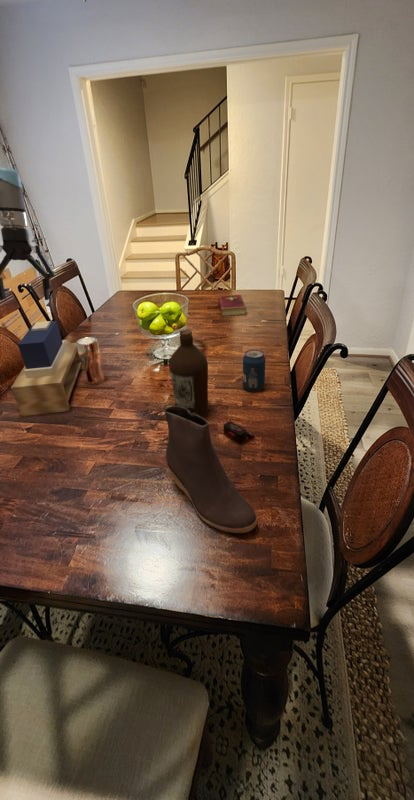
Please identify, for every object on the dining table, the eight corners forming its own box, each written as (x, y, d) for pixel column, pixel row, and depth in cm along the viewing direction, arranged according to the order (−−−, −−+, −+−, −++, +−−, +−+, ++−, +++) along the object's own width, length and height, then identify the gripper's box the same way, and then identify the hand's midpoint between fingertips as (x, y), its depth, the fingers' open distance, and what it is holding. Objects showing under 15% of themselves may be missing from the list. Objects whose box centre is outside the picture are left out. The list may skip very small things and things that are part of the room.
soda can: (258, 380, 123) (258, 347, 117) (268, 389, 118) (269, 355, 111) (239, 384, 121) (239, 351, 115) (248, 394, 116) (249, 360, 109)
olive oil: (186, 398, 115) (179, 322, 102) (216, 406, 111) (213, 327, 98) (167, 416, 108) (157, 335, 94) (199, 425, 103) (192, 342, 90)
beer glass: (91, 387, 124) (80, 346, 116) (82, 380, 129) (72, 340, 121) (109, 380, 128) (101, 340, 120) (100, 374, 133) (92, 334, 125)
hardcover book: (221, 316, 178) (221, 308, 176) (218, 303, 196) (218, 295, 194) (246, 315, 178) (246, 306, 176) (241, 301, 196) (241, 294, 194)
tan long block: (21, 416, 112) (10, 387, 106) (45, 371, 137) (37, 346, 132) (69, 411, 113) (60, 382, 108) (83, 367, 138) (77, 342, 133)
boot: (237, 550, 69) (236, 469, 58) (157, 486, 84) (145, 413, 73) (266, 522, 74) (270, 443, 63) (186, 467, 89) (178, 395, 78)
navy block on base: (53, 375, 112) (43, 340, 106) (26, 378, 111) (14, 343, 105) (67, 346, 130) (59, 315, 124) (44, 348, 129) (34, 317, 123)
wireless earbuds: (242, 446, 94) (242, 436, 93) (222, 435, 99) (222, 425, 97) (254, 438, 97) (254, 428, 95) (234, 427, 101) (234, 417, 100)
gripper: (-36, 225, 108) (-21, 300, 115) (54, 228, 111) (62, 301, 119) (-25, 226, 115) (-11, 297, 122) (59, 229, 118) (67, 298, 126)
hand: (25, 299), depth 121 cm, fingers open, 13 cm apart
